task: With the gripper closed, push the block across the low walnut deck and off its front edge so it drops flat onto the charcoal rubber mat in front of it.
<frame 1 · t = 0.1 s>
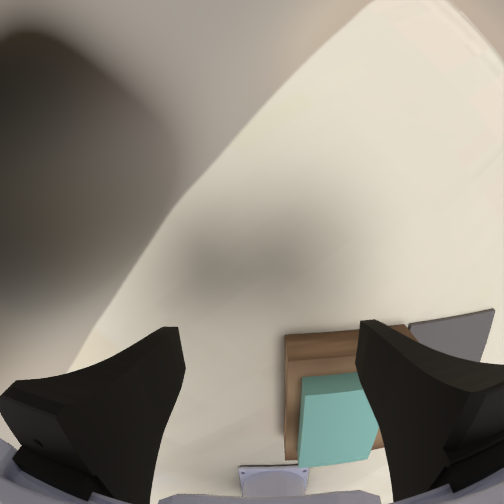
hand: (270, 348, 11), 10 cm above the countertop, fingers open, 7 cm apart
deck: (340, 387, 23), on the countertop
mat: (441, 369, 23), on the countertop
block: (339, 424, 19), point 4 cm above the countertop, touching deck
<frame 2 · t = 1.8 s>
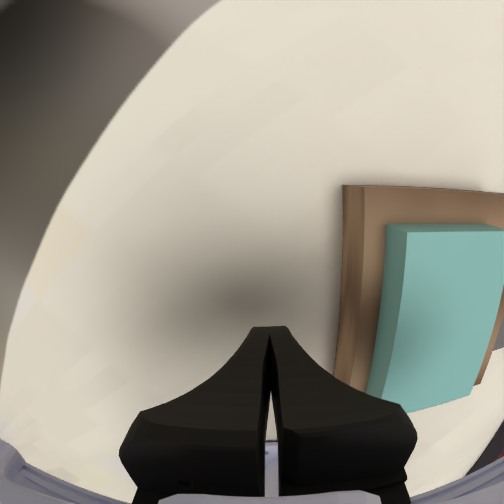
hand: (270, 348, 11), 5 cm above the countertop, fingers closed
deck: (417, 288, 16), on the countertop
block: (440, 324, 11), point 4 cm above the countertop, touching deck
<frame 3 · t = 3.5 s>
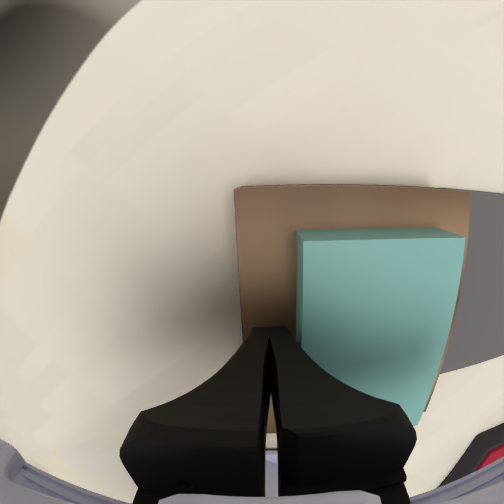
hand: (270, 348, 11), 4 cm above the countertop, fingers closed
deck: (343, 301, 15), on the countertop
mat: (489, 286, 14), on the countertop
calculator: (478, 458, 20), on the countertop
block: (372, 346, 10), point 5 cm above the countertop, touching deck
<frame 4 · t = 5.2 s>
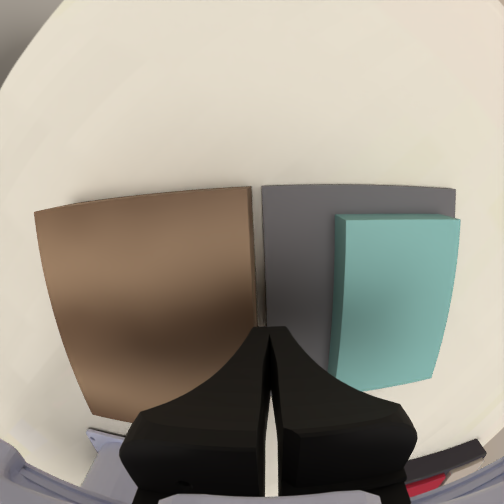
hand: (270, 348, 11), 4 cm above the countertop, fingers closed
deck: (164, 305, 15), on the countertop
mat: (364, 299, 15), on the countertop
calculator: (411, 485, 21), on the countertop
block: (393, 306, 13), point 1 cm above the countertop, tilted 180°, touching mat
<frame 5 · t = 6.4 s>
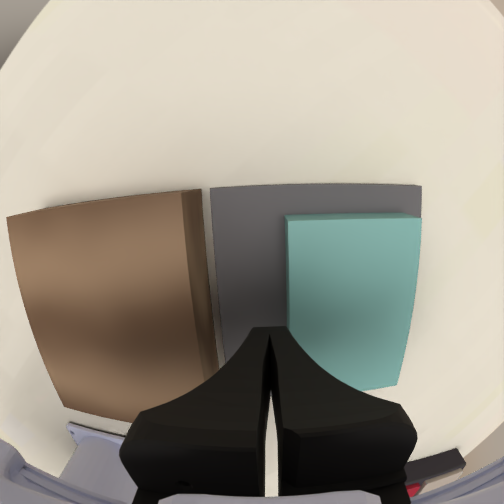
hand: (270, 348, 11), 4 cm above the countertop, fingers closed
deck: (126, 304, 15), on the countertop
mat: (321, 302, 15), on the countertop
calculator: (388, 492, 21), on the countertop
block: (349, 309, 13), point 1 cm above the countertop, tilted 180°, touching mat
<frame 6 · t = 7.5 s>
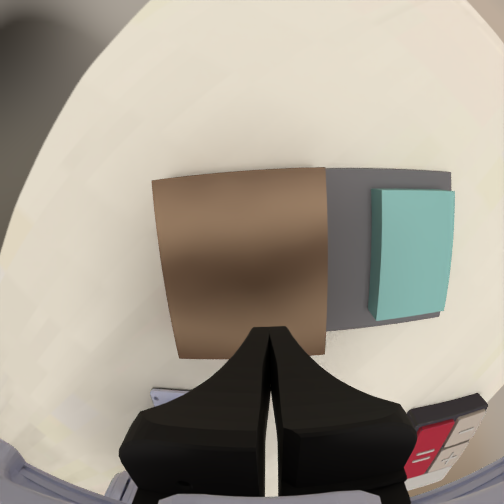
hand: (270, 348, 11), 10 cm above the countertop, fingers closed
deck: (247, 258, 21), on the countertop
mat: (391, 250, 20), on the countertop
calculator: (423, 439, 26), on the countertop
block: (412, 253, 19), point 1 cm above the countertop, tilted 180°, touching mat
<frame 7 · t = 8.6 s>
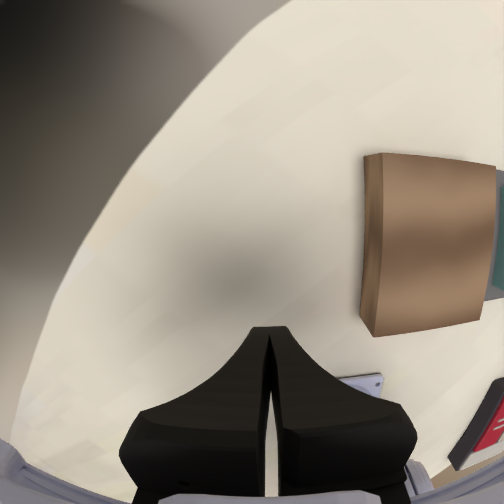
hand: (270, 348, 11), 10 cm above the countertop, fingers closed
deck: (422, 238, 20), on the countertop
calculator: (492, 412, 26), on the countertop
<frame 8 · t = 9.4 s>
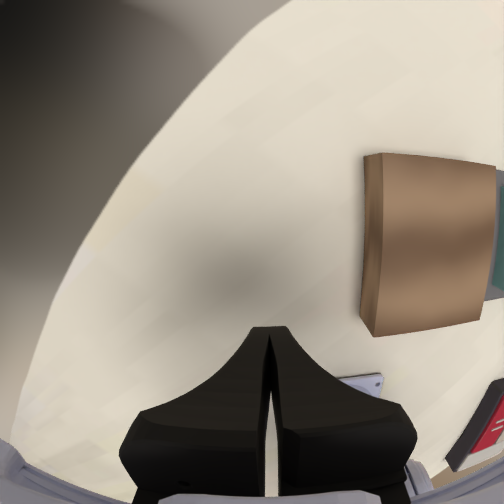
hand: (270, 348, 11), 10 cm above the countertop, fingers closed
deck: (422, 238, 20), on the countertop
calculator: (490, 414, 26), on the countertop
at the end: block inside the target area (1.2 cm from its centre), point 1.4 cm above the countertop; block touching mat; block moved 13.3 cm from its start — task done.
